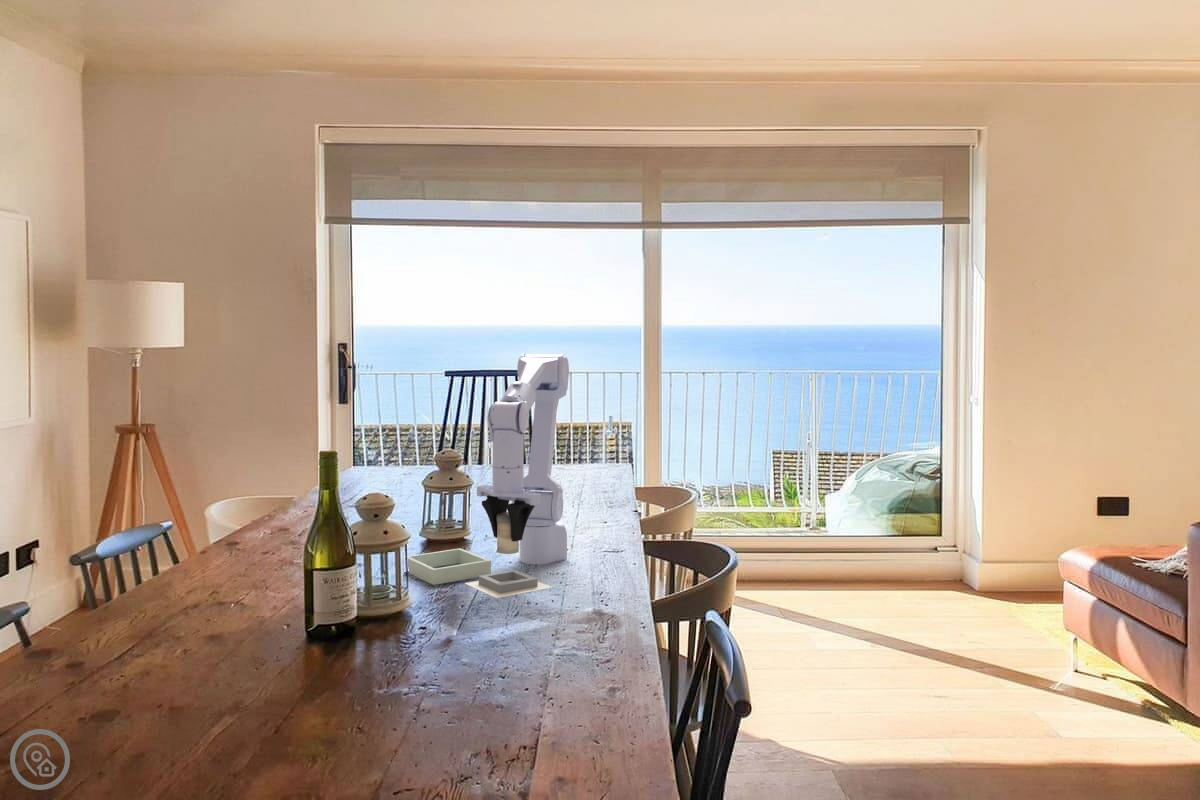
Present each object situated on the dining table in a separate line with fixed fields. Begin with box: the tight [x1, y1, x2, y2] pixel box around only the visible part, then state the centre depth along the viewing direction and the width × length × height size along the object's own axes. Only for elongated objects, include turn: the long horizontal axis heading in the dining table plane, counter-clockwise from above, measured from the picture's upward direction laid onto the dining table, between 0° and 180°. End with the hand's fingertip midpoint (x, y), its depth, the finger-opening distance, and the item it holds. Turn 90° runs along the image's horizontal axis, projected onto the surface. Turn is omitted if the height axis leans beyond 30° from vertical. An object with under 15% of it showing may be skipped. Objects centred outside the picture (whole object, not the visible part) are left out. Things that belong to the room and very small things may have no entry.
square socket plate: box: [463, 569, 553, 599], centre depth 175 cm, size 12×12×3 cm
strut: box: [496, 511, 520, 555], centre depth 174 cm, size 4×4×7 cm
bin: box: [407, 548, 492, 586], centre depth 183 cm, size 12×12×4 cm
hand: (508, 538), depth 174 cm, fingers closed on strut, 4 cm apart
